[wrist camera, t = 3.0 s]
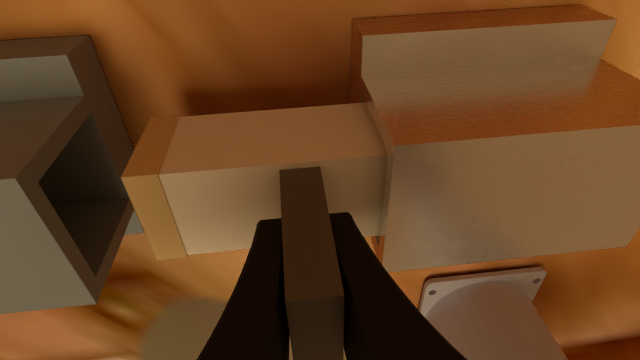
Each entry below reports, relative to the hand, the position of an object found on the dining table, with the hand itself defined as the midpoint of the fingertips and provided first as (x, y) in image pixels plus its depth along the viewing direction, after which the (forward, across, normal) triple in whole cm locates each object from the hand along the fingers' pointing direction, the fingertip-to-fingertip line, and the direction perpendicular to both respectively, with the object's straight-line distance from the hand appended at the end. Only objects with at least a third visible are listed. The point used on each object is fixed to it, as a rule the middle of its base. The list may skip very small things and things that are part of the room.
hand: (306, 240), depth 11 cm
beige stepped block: (+7, -7, 0) cm, 10 cm away
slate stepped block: (+7, +10, 0) cm, 12 cm away
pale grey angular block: (+5, -2, 0) cm, 5 cm away
